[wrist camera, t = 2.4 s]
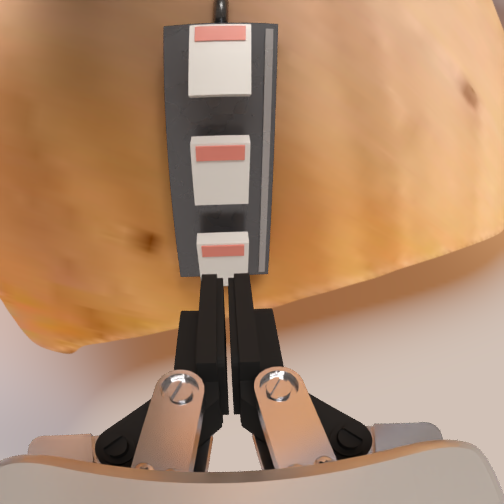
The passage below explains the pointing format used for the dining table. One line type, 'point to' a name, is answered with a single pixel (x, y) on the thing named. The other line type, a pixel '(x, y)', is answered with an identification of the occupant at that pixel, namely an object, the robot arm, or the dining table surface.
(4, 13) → the dining table surface
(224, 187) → the rocker
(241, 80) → the plate
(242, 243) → the rocker
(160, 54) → the dining table surface
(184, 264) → the power strip
